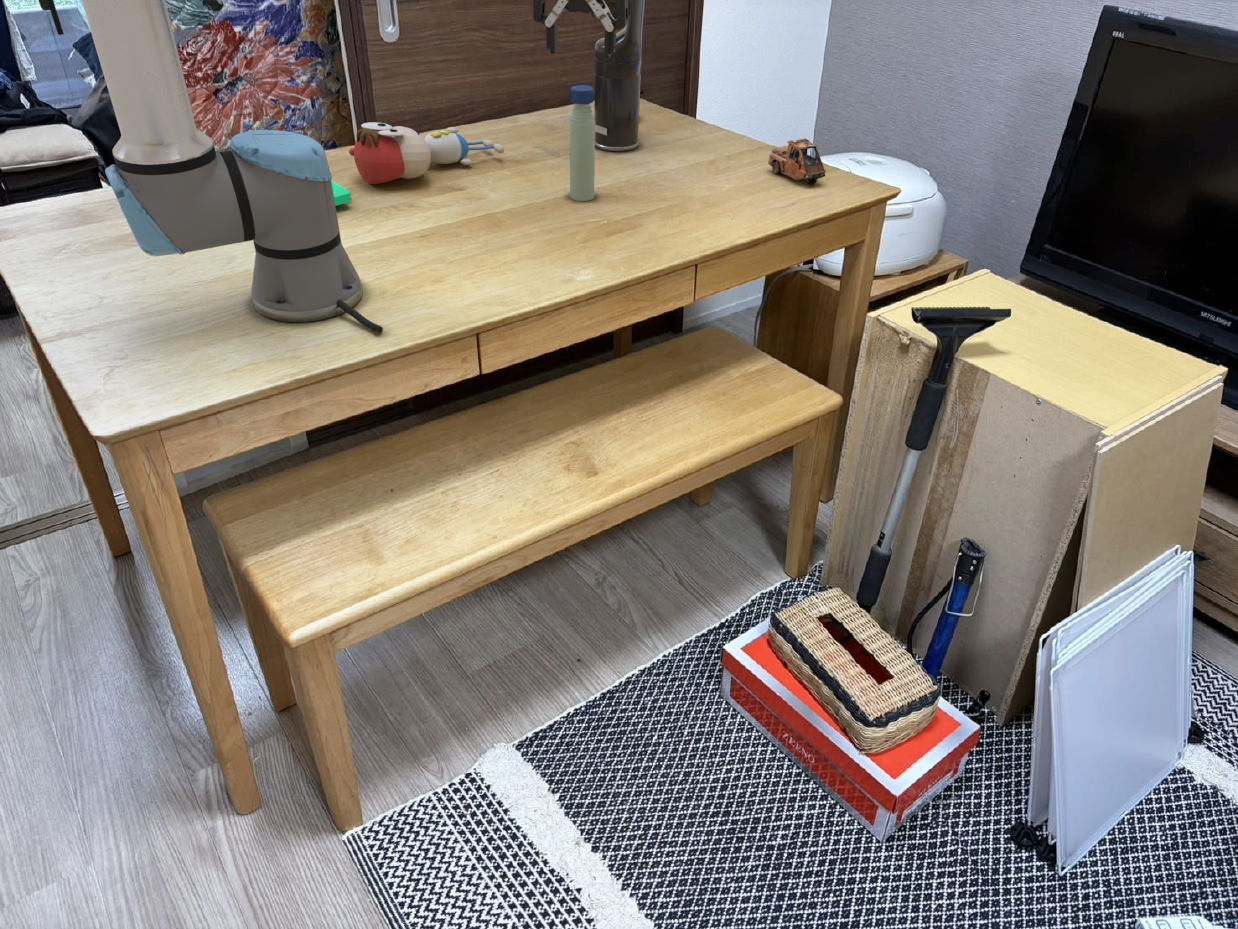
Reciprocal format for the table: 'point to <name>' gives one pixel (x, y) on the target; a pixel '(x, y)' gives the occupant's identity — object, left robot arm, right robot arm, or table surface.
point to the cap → (582, 94)
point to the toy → (408, 151)
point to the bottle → (582, 153)
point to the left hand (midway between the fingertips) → (108, 29)
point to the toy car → (797, 161)
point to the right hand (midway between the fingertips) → (580, 54)
